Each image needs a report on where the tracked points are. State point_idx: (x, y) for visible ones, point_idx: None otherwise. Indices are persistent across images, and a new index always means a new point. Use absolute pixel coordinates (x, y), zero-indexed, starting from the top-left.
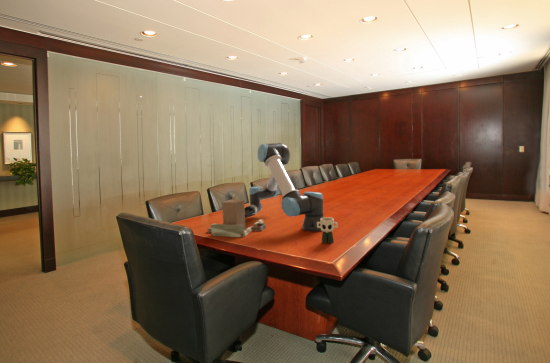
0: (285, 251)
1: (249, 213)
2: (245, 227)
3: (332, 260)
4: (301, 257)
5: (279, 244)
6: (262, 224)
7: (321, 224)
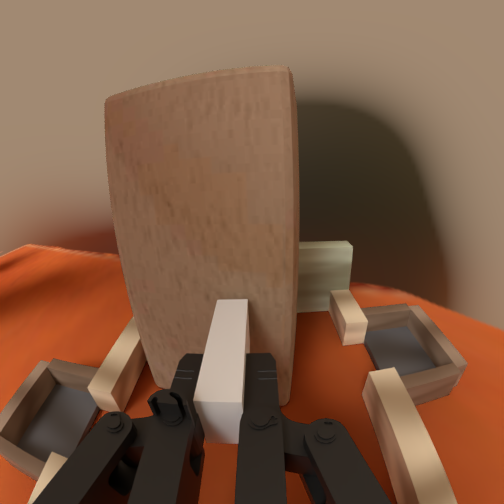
0: (60, 255)
1: (49, 491)
2: (149, 362)
3: (20, 248)
4: (49, 247)
5: (52, 273)
6: (13, 446)
7: None
